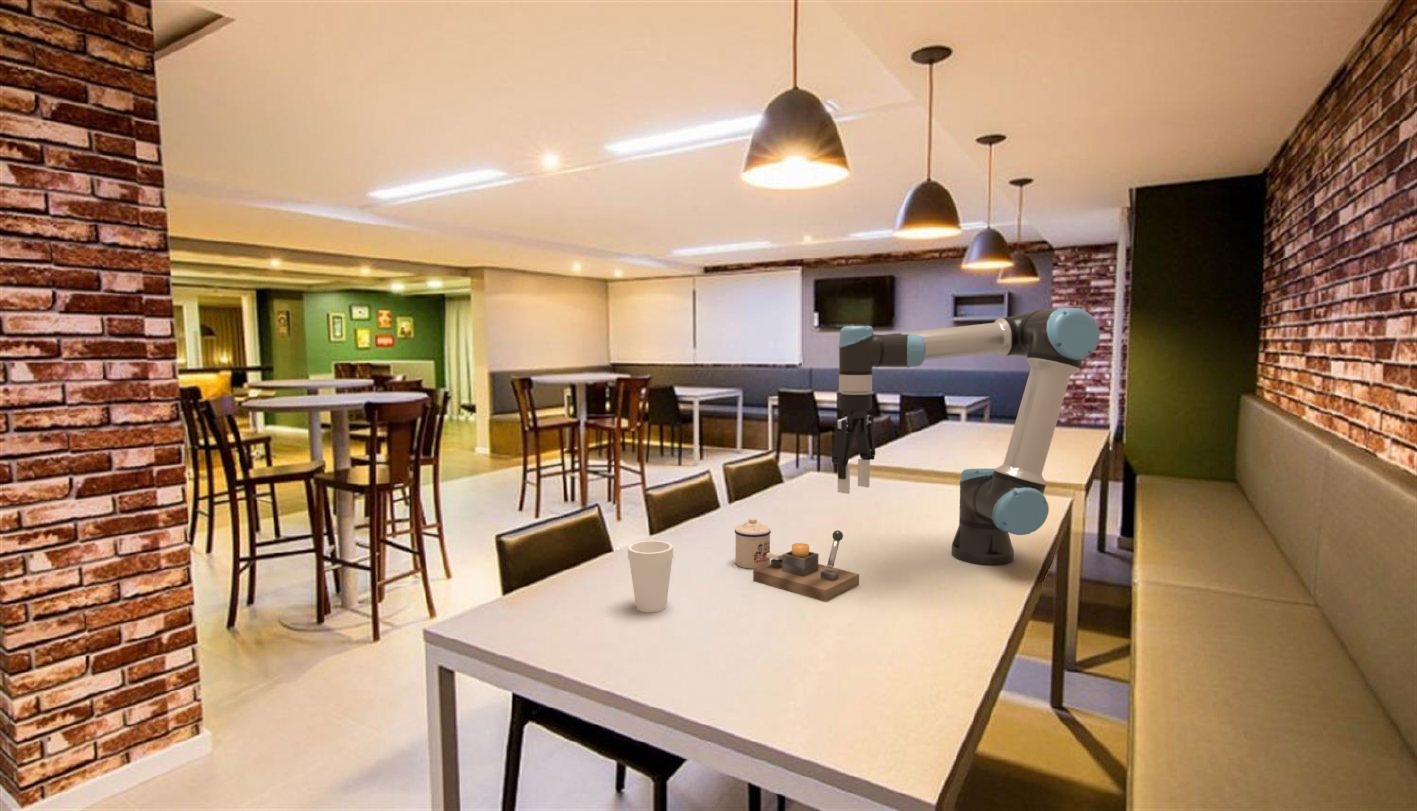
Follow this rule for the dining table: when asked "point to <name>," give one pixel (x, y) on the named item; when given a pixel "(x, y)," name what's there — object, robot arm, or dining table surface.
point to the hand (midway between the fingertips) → (853, 489)
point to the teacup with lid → (752, 544)
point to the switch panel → (806, 577)
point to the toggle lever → (834, 548)
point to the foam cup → (650, 573)
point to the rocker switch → (775, 555)
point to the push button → (800, 550)
